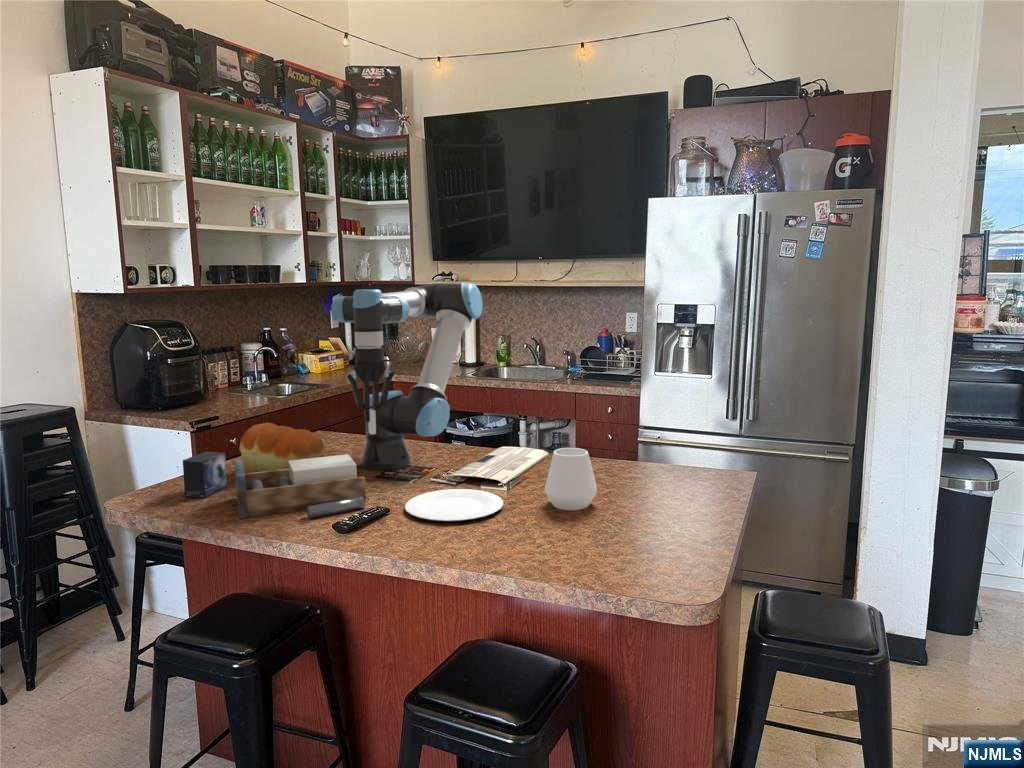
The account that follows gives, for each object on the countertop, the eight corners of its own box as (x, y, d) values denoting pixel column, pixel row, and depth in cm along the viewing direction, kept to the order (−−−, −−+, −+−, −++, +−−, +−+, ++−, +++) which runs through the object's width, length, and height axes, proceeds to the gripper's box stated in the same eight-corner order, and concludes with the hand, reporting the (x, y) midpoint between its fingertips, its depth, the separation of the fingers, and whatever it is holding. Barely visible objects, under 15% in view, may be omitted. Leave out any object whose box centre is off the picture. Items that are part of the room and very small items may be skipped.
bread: (326, 477, 205) (324, 428, 203) (290, 488, 195) (287, 436, 193) (276, 465, 220) (273, 419, 217) (241, 474, 210) (237, 426, 208)
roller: (361, 506, 178) (360, 494, 177) (365, 509, 175) (364, 497, 175) (306, 516, 170) (306, 504, 170) (310, 520, 167) (309, 508, 167)
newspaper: (499, 453, 233) (499, 445, 233) (553, 458, 226) (553, 449, 225) (447, 482, 200) (447, 473, 199) (509, 489, 192) (509, 479, 192)
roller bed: (353, 483, 198) (351, 447, 196) (365, 501, 181) (364, 462, 180) (237, 497, 186) (234, 460, 184) (239, 518, 169) (236, 477, 168)
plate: (386, 520, 168) (385, 513, 168) (432, 490, 191) (432, 484, 191) (480, 531, 159) (480, 524, 159) (517, 499, 183) (517, 493, 182)
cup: (601, 499, 181) (602, 447, 179) (590, 515, 169) (590, 459, 166) (552, 494, 185) (552, 443, 183) (538, 510, 173) (537, 456, 171)
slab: (348, 469, 194) (348, 454, 193) (357, 480, 183) (356, 464, 182) (289, 476, 187) (288, 460, 187) (294, 488, 176) (293, 471, 176)
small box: (205, 499, 185) (202, 461, 184) (183, 498, 186) (180, 460, 185) (228, 487, 195) (226, 451, 194) (208, 486, 197) (205, 450, 195)
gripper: (389, 345, 191) (392, 428, 195) (342, 347, 186) (345, 432, 189) (396, 347, 184) (399, 433, 188) (347, 349, 179) (350, 438, 183)
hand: (372, 433), depth 189 cm, fingers closed
